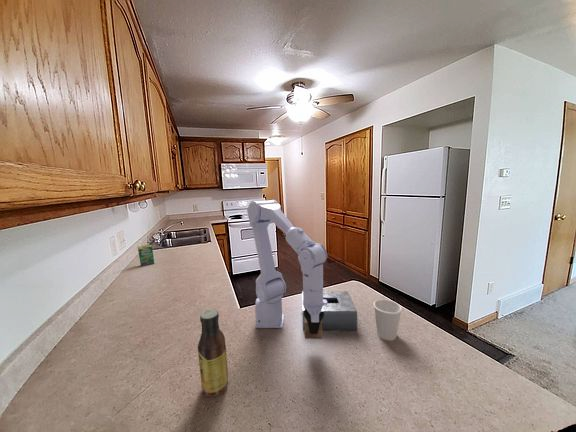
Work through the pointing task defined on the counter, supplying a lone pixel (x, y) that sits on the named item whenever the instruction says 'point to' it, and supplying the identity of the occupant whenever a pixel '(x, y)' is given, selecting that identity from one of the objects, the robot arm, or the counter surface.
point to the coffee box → (146, 255)
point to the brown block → (313, 336)
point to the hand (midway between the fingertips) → (313, 330)
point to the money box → (337, 312)
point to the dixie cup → (387, 318)
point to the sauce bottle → (212, 355)
